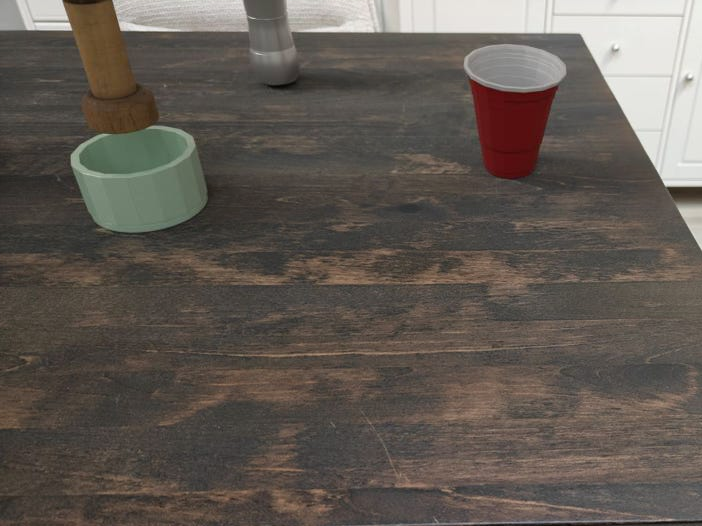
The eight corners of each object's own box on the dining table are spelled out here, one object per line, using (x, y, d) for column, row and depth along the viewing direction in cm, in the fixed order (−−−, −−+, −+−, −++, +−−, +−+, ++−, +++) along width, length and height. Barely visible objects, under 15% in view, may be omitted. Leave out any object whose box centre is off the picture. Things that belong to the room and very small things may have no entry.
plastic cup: (494, 199, 79) (498, 88, 72) (446, 159, 86) (444, 53, 79) (576, 176, 84) (588, 68, 76) (524, 139, 91) (530, 37, 83)
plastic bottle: (280, 94, 100) (252, -74, 87) (243, 84, 103) (211, -82, 90) (312, 79, 104) (290, -84, 91) (276, 70, 107) (250, -90, 94)
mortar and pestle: (174, 115, 73) (119, -97, 61) (125, 140, 69) (55, -82, 57) (123, 103, 75) (60, -104, 63) (72, 127, 71) (-7, -91, 59)
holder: (124, 246, 72) (104, 190, 68) (71, 203, 78) (50, 149, 74) (229, 204, 78) (217, 150, 74) (173, 167, 84) (159, 116, 80)
